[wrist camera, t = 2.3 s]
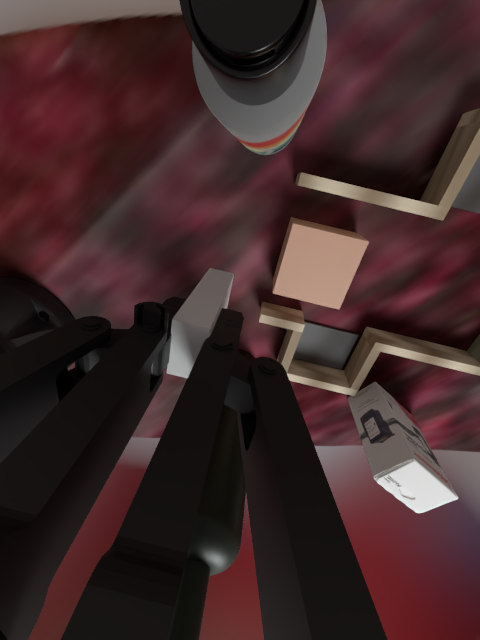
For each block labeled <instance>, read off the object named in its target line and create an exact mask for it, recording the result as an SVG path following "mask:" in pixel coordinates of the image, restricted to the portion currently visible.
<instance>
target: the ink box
mask: <svg viewBox="0 0 480 640" xmlns="http://www.w3.org/2000/svg"><path fill="white" fill-rule="evenodd" d="M348 402H349V405H350V408H351V411H352V414H353V417H354V420H355V423H356V426H357V429H358V432H359V435H360V438H361V441H362V444H363V447H364V450H365V453H366V456H367V459H368V462H369V465H370V468H371V471H372V474H373V478H374V479H375V480H376V481H377V483H378V484H380V485H381V486H383V487H384V488H385V489H386V490H387V491H388V492H390V493H392V494H393V495H394V496H395V497H396V498H397V499H398V500H400V501H402V502H403V503H404V504H406V506H408V507H409V508H411V509H412V510H414V511H415V512H416V513H423V512H426V511H428V510H431V509H433V508H436V507H438V506H441V505H443V504H446V503H448V502H451V501H453V500H457V499H458V496H457V494H456V493H455V491H454V489H453V488H452V486H451V484H450V482H449V481H448V479H447V477H446V475H445V474H444V472H443V470H442V468H441V467H440V465H439V463H438V461H437V459H436V458H435V456H434V454H433V452H432V450H431V449H430V447H429V445H428V443H427V441H426V440H425V438H424V436H423V434H422V432H421V431H420V429H419V427H418V425H417V423H416V422H415V420H414V418H413V416H412V415H411V414H410V413H409V412H408V411H407V410H406V409H405V408H404V407H403V406H402V405H400V404H399V403H398V402H397V401H396V400H395V399H394V398H393V397H392V396H391V395H390V394H389V393H387V392H386V391H385V390H384V389H383V388H382V387H381V386H380V385H379V384H378V383H377V382H373V383H372V384H370V385H368V386H366V387H365V388H363V389H362V390H360V391H358V392H357V393H356V395H355V396H350V397H348Z"/></svg>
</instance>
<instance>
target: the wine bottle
mask: <svg viewBox="0 0 480 640" xmlns="http://www.w3.org/2000/svg"><path fill="white" fill-rule="evenodd" d="M238 351H239V352H240V353H241V354H242V355H243V356H244V357H245V358H247V359H249V360H251V361H253V360H254V357H253V356H252V355H251V354H249V353H248V352H246V351H243V350H239V349H238ZM245 496H246V486H245V477H244V469H243V461H242V453H241V445H240V437H239V429H238V420H237V411H235V410H234V409H232V408H230V407H228V406H226V405H225V404H223V408H222V413H221V417H220V421H219V425H218V429H217V433H216V438H215V442H214V446H213V450H212V454H211V458H210V462H209V467H208V471H207V475H206V479H205V483H204V487H203V492H202V496H201V500H200V504H199V508H198V512H197V516H196V521H195V525H194V529H193V533H192V537H191V541H190V546H189V550H188V554H187V558H186V562H185V567H184V571H183V575H182V580H181V584H180V588H179V593H178V597H177V601H176V605H175V609H174V613H173V618H172V622H171V626H170V630H169V634H168V639H167V640H199V637H200V630H201V624H202V618H203V612H204V606H205V600H206V594H207V587H208V582H209V576H210V575H215V574H218V573H220V572H223V571H224V570H226V569H227V568H228V567H229V566H230V565H231V564H232V563H233V562H234V560H235V559H236V557H237V555H238V553H239V550H240V546H241V539H242V529H243V518H244V507H245Z"/></svg>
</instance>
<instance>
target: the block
mask: <svg viewBox="0 0 480 640" xmlns="http://www.w3.org/2000/svg"><path fill="white" fill-rule="evenodd" d="M368 243H369V241H367V240H366V239H365V238H363V237H362V236H360V235H359V234H358V233H355V232H351V231H347V230H343V229H339V228H335V227H330V226H326V225H322V224H318V223H314V222H310V221H306V220H301V219H297V218H293V217H291V218H290V221H289V225H288V228H287V232H286V235H285V239H284V242H283V246H282V249H281V253H280V256H279V260H278V263H277V267H276V271H275V274H274V278H273V294H277V295H281V296H285V297H289V298H293V299H298V300H302V301H306V302H310V303H314V304H318V305H322V306H327V307H331V308H335V309H340V307H341V304H342V302H343V300H344V298H345V295H346V293H347V291H348V288H349V286H350V284H351V282H352V279H353V277H354V275H355V272H356V270H357V268H358V266H359V263H360V261H361V259H362V257H363V254H364V252H365V250H366V247H367V245H368Z"/></svg>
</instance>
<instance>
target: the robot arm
mask: <svg viewBox="0 0 480 640" xmlns="http://www.w3.org/2000/svg"><path fill="white" fill-rule="evenodd" d="M233 278H234V274H233V273H229V272H224V271H220V270H216V269H212V268H209V270H208V271H207V273H206V274H205V275H204V277H203V278H202V279H201V281H200V282H199V283H198V285H197V286H196V287H195V289H194V290H193V292H192V293H191V294H190V296H189V297H188V298H187V300H185V299H181V298H177V297H172V298H169V299H167V300H166V301H165V302H164V303H163V304H160V303H156V302H142V303H139V304H137V305H135V308H134V325H133V326H132V327H131V328H130V329H111V324H110V322H109V321H108V320H107V319H105V318H102V317H98V316H88V317H83V318H79V319H77V320H74V318H73V317H72V315H71V314H70V312H69V311H68V310H67V309H66V307H65V306H64V305H63V304H62V303H61V302H60V301H59V300H58V299H57V298H55V297H54V296H53V295H52V294H50V293H49V292H47V291H46V290H44V289H43V288H41V287H39V286H37V285H35V284H33V283H30V282H28V281H25V280H21V279H17V278H0V640H28V638H29V636H30V634H31V632H32V630H33V628H34V626H35V624H36V622H37V620H38V618H39V615H40V613H41V610H42V608H43V605H44V602H45V598H46V595H47V591H48V588H49V586H50V583H51V581H52V579H53V577H54V575H55V573H56V571H57V569H58V568H59V566H60V564H61V562H62V560H63V559H64V557H65V555H66V553H67V551H68V550H69V548H70V546H71V544H72V543H73V541H74V539H75V537H76V535H77V533H78V532H79V530H80V528H81V526H82V524H83V523H84V521H85V519H86V517H87V515H88V514H89V512H90V510H91V508H92V507H93V505H94V503H95V501H96V499H97V497H98V496H99V494H100V492H101V490H102V489H103V486H104V485H105V483H106V481H107V479H108V478H109V476H110V474H111V472H112V471H113V469H114V467H115V465H116V463H117V461H118V460H119V458H120V456H121V454H122V453H123V451H124V449H125V447H126V445H127V444H128V442H129V440H130V438H131V436H132V435H133V433H134V431H135V429H136V427H137V426H138V424H139V422H140V420H141V418H142V417H143V415H144V413H145V411H146V409H147V408H148V406H149V404H150V402H151V401H152V399H153V397H154V395H155V393H156V392H157V390H158V388H159V386H160V384H161V383H162V380H163V373H164V370H165V368H166V366H167V364H168V366H167V373H168V374H172V375H176V376H180V377H184V378H188V379H187V381H186V383H185V385H184V387H183V390H182V392H181V394H180V396H179V399H178V401H177V403H176V405H175V408H174V410H173V412H172V414H171V416H170V419H169V421H168V423H167V425H166V428H165V430H164V432H163V434H162V436H161V439H160V441H159V443H158V445H157V448H156V450H155V452H154V455H153V457H152V459H151V461H150V464H149V466H148V468H147V470H146V472H145V474H144V477H143V479H142V481H141V483H140V486H139V488H138V490H137V492H136V494H135V497H134V499H133V501H132V503H131V506H130V508H129V510H128V512H127V515H126V517H125V519H124V521H123V523H122V526H121V528H120V530H119V532H118V535H117V537H116V539H115V541H114V543H113V545H112V546H111V548H110V550H108V551H107V552H106V553H105V554H104V555H103V556H102V558H101V559H100V561H99V562H98V564H97V566H96V567H95V569H94V571H93V573H92V575H91V577H90V579H89V581H88V583H87V585H86V587H85V589H84V591H83V594H82V596H81V598H80V600H79V602H78V604H77V606H76V608H75V611H74V613H73V615H72V617H71V619H70V621H69V623H68V626H67V627H66V630H65V632H64V634H63V636H62V638H61V640H167V639H168V634H169V630H170V626H171V622H172V618H173V613H174V609H175V605H176V601H177V597H178V593H179V588H180V584H181V580H182V575H183V571H184V567H185V562H186V558H187V554H188V550H189V546H190V541H191V537H192V533H193V529H194V525H195V521H196V516H197V512H198V508H199V504H200V500H201V496H202V492H203V487H204V483H205V479H206V475H207V471H208V467H209V462H210V458H211V454H212V450H213V446H214V442H215V438H216V433H217V429H218V425H219V421H220V417H221V413H222V408H223V404H225V405H226V406H228V407H230V408H232V409H234V410H235V411H237V420H238V429H239V437H240V445H241V453H242V461H243V469H244V477H245V486H246V494H247V502H248V510H249V518H250V526H251V534H252V543H253V550H254V559H255V567H256V575H257V583H258V591H259V599H260V608H261V615H262V624H263V632H264V640H387V637H386V635H385V632H384V629H383V627H382V624H381V622H380V619H379V616H378V614H377V611H376V608H375V606H374V603H373V600H372V598H371V595H370V592H369V590H368V587H367V584H366V582H365V579H364V576H363V574H362V571H361V569H360V566H359V563H358V561H357V558H356V555H355V553H354V550H353V547H352V545H351V542H350V540H349V537H348V534H347V532H346V529H345V526H344V524H343V521H342V518H341V516H340V513H339V510H338V508H337V505H336V502H335V500H334V497H333V495H332V492H331V489H330V487H329V484H328V481H327V479H326V476H325V474H324V471H323V468H322V465H321V463H320V460H319V458H318V455H317V452H316V450H315V447H314V444H313V442H312V439H311V436H310V434H309V431H308V428H307V426H306V423H305V420H304V418H303V415H302V413H301V410H300V407H299V405H298V402H297V399H296V397H295V394H294V391H293V389H292V386H291V383H290V381H289V378H288V375H287V373H286V370H285V368H284V367H283V365H282V364H280V363H279V362H278V361H276V360H274V359H272V358H267V357H258V358H256V359H254V360H253V361H251V360H249V359H247V358H245V357H244V356H243V355H242V354H241V353H240V352H239V351H238V341H239V337H240V333H241V328H242V324H243V320H244V317H243V315H242V313H241V312H237V311H233V310H229V309H227V306H228V301H229V297H230V292H231V287H232V282H233ZM74 362H75V368H73V369H71V370H69V371H68V370H67V369H68V368H69V367H70V366H71V365H72V364H73V363H74Z"/></svg>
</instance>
